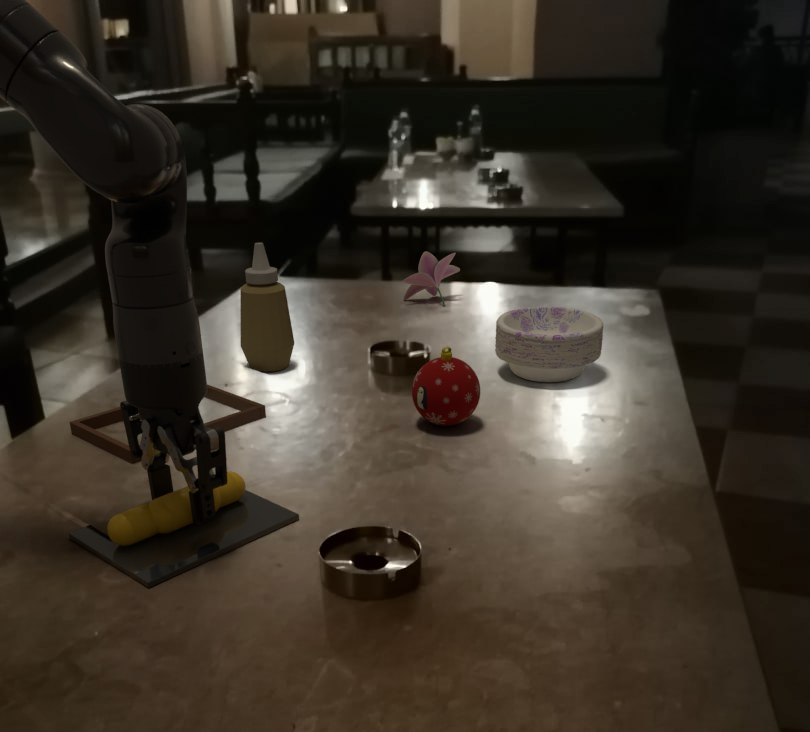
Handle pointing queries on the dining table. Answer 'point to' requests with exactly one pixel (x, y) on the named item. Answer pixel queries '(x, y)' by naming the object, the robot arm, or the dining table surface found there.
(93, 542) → the board
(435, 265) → the lily
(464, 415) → the christmas ornament
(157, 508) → the yellow segmented rod
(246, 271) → the squeeze bottle
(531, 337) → the paper bowls
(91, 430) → the tray
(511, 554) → the dining table surface
